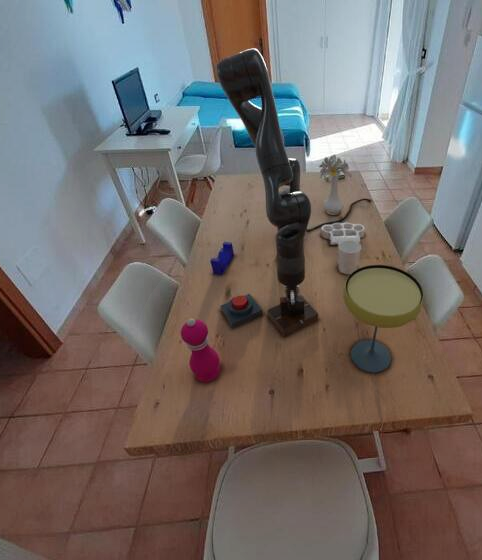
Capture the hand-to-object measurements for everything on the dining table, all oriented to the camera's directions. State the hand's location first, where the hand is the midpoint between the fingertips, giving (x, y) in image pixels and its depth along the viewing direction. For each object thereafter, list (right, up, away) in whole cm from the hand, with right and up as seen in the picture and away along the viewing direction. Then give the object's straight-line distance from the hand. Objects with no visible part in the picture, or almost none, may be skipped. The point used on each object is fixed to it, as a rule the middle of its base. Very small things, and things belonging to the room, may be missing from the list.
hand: (292, 310), depth 99 cm
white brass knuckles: (+19, +27, +38) cm, 50 cm away
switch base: (0, -3, +2) cm, 4 cm away
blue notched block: (-28, +15, +23) cm, 39 cm away
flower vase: (+15, +41, +55) cm, 70 cm away
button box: (-16, -1, +4) cm, 17 cm away
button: (-16, +2, +2) cm, 16 cm away
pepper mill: (-21, -15, -12) cm, 29 cm away
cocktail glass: (+22, -12, -8) cm, 27 cm away
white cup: (+19, +13, +22) cm, 31 cm away
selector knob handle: (0, 0, 0) cm, 1 cm away
